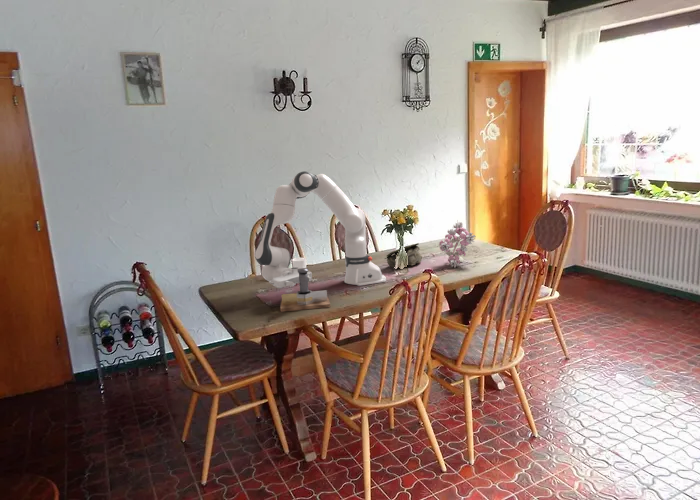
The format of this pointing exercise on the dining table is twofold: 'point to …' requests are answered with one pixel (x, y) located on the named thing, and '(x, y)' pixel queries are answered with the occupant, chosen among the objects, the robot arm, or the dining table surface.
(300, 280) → the hinge pin
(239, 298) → the dining table surface
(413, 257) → the hollow geode rock
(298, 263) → the white cup
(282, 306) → the hinge base
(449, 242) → the flower
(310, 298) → the hinge leaves
